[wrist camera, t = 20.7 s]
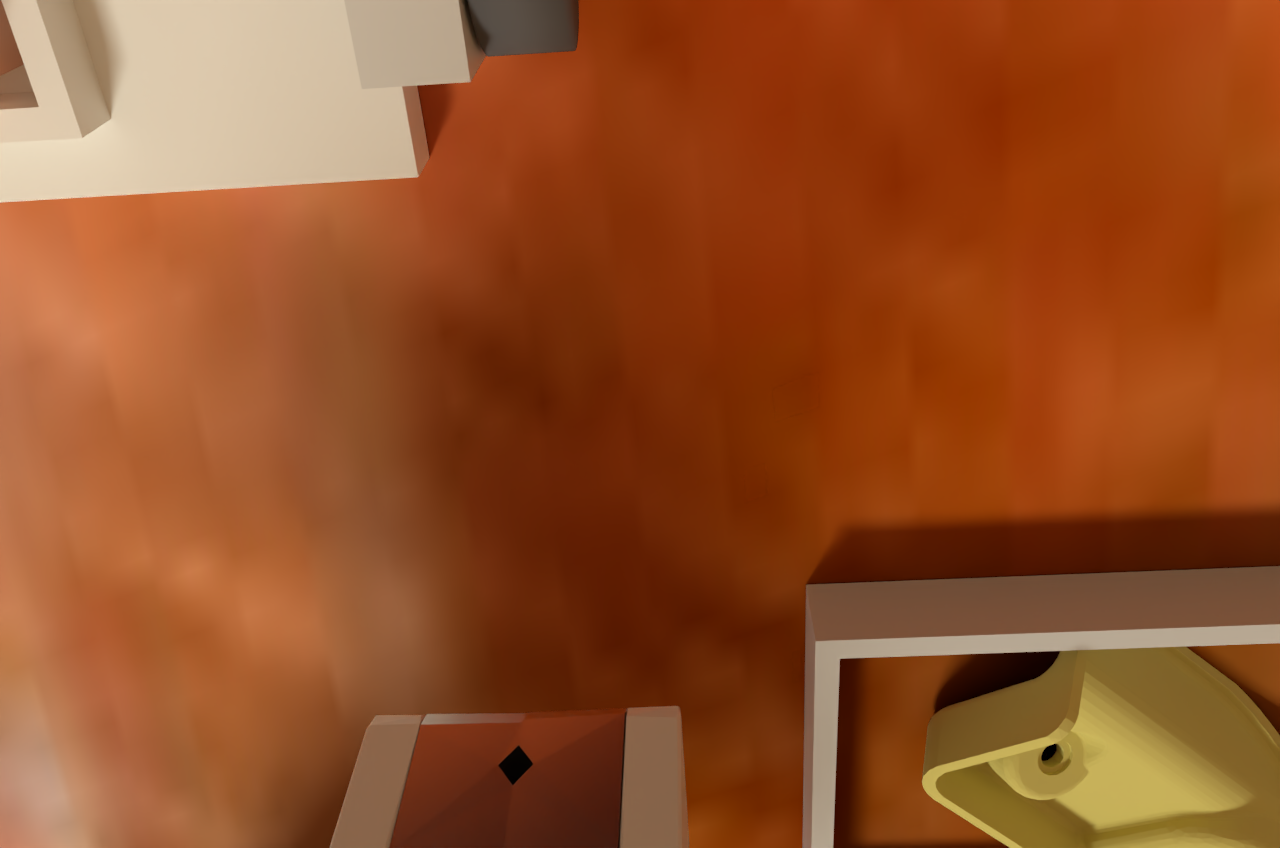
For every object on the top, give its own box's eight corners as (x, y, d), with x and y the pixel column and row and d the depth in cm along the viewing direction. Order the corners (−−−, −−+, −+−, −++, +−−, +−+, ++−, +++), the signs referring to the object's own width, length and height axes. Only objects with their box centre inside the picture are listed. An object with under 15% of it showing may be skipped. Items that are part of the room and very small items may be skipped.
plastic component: (898, 776, 49) (1090, 725, 42) (914, 636, 54) (1089, 569, 47) (1179, 956, 55) (1389, 937, 48) (1172, 815, 60) (1362, 779, 53)
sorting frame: (1349, 879, 56) (1387, 942, 53) (802, 892, 58) (809, 954, 55) (1485, 557, 46) (1543, 614, 43) (806, 584, 47) (815, 641, 44)
